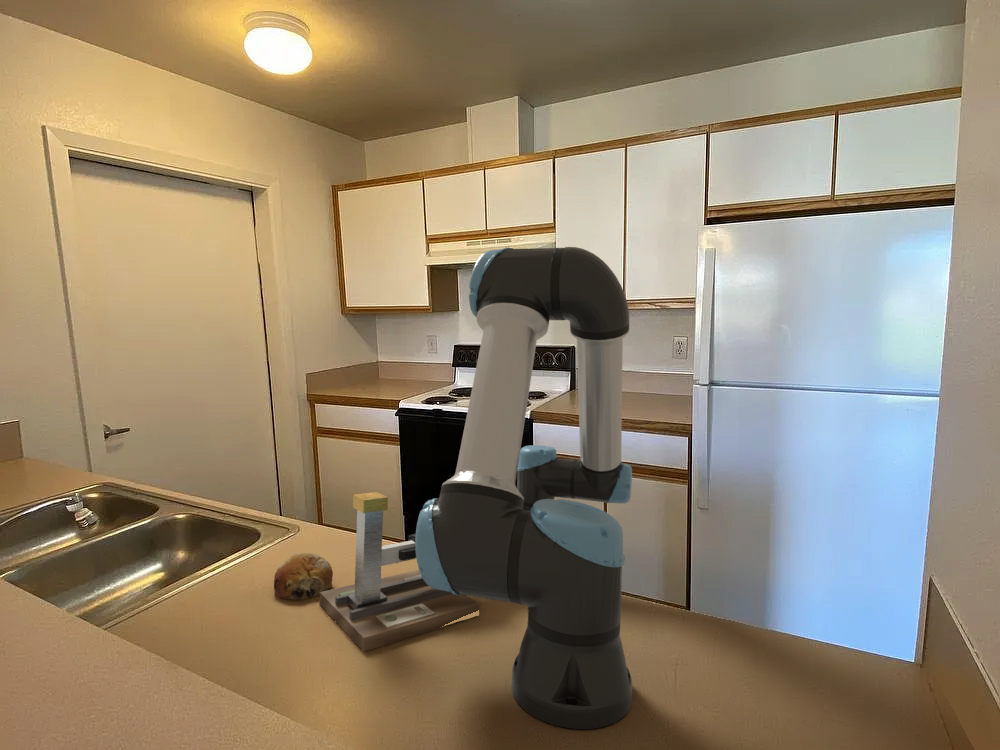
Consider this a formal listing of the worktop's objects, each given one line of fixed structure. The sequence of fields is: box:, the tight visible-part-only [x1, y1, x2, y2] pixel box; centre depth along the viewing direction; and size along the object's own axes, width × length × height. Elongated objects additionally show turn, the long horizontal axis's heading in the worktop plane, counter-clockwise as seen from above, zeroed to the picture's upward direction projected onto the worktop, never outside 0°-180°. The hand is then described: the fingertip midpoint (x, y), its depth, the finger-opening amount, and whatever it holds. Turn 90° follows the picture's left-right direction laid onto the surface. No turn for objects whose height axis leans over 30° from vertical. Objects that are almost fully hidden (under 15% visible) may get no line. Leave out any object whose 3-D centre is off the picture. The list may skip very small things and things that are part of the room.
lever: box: [347, 491, 389, 610], centre depth 86 cm, size 4×5×17 cm
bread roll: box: [273, 552, 334, 601], centre depth 97 cm, size 10×10×8 cm
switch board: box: [319, 569, 481, 653], centre depth 90 cm, size 18×20×3 cm
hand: (377, 556), depth 88 cm, fingers closed
